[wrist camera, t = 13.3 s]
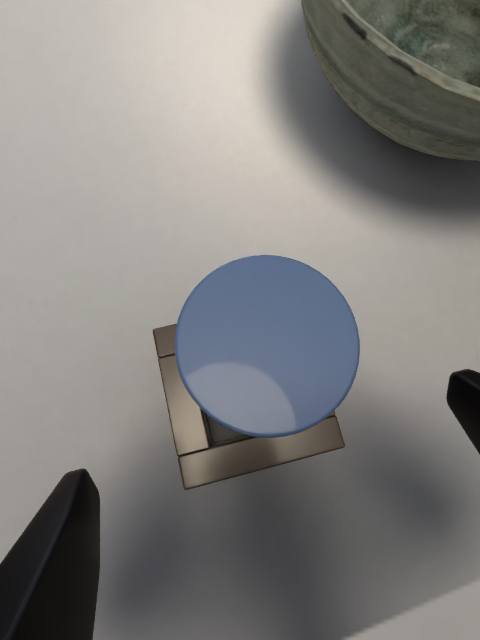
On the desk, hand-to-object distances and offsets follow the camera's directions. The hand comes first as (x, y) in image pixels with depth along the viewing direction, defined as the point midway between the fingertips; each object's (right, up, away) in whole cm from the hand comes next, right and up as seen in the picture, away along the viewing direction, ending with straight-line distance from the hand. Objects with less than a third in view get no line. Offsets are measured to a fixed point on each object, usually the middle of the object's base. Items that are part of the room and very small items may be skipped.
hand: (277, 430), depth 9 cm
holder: (-1, -1, +11) cm, 11 cm away
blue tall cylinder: (-1, -1, +11) cm, 11 cm away
